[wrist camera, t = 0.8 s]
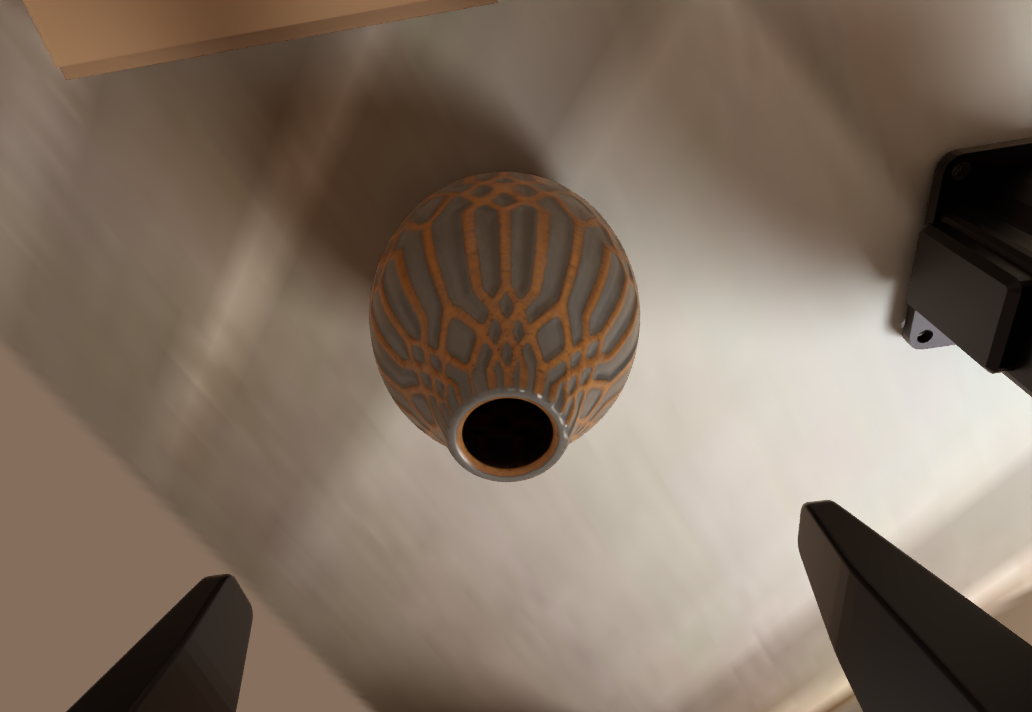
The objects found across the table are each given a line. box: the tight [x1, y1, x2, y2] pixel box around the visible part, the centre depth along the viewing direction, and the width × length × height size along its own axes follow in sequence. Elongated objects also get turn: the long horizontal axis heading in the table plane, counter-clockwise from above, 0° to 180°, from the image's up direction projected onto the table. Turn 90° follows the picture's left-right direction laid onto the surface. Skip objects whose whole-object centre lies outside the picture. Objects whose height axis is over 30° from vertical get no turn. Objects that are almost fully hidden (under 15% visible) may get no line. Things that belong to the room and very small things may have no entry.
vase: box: [369, 172, 640, 482], centre depth 16 cm, size 7×7×9 cm
